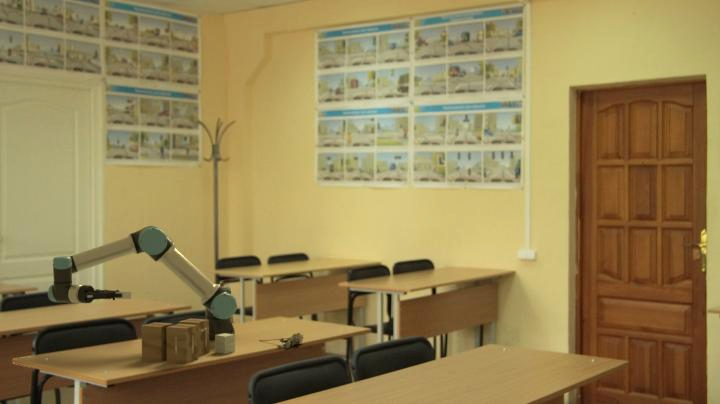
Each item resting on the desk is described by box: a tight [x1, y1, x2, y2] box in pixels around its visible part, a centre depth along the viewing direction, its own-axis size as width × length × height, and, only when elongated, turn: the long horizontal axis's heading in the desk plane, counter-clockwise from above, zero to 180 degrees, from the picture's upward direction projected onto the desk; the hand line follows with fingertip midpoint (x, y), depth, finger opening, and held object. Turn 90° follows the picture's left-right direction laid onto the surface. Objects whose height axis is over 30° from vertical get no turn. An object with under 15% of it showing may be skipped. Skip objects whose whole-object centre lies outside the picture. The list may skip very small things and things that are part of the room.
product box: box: [214, 333, 236, 355], centre depth 383 cm, size 6×6×7 cm
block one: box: [166, 323, 199, 365], centre depth 364 cm, size 9×9×14 cm
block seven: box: [178, 318, 210, 358], centre depth 378 cm, size 9×9×14 cm
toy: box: [259, 332, 304, 350], centre depth 399 cm, size 29×5×15 cm
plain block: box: [141, 321, 174, 363], centre depth 368 cm, size 9×9×14 cm
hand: (130, 295), depth 377 cm, fingers closed
